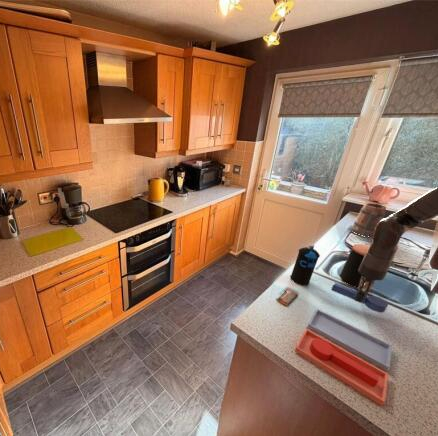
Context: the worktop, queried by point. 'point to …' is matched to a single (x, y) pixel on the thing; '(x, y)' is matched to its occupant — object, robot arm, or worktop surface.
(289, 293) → the chocolate bar
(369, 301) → the blue spoon
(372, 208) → the tankard
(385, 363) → the blue tray
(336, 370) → the red tray
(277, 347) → the worktop surface
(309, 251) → the aerosol can
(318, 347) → the red spoon
